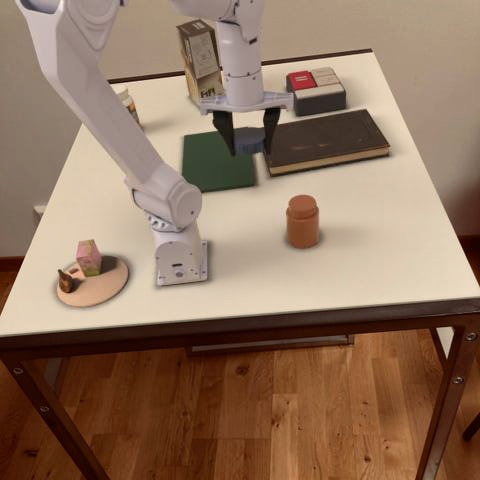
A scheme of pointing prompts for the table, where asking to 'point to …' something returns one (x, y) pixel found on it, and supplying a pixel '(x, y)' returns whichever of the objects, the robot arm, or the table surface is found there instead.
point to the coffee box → (200, 59)
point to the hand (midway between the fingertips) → (251, 152)
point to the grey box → (316, 91)
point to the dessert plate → (92, 277)
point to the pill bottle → (126, 100)
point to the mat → (214, 163)
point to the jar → (302, 221)
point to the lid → (249, 141)
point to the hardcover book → (325, 142)
